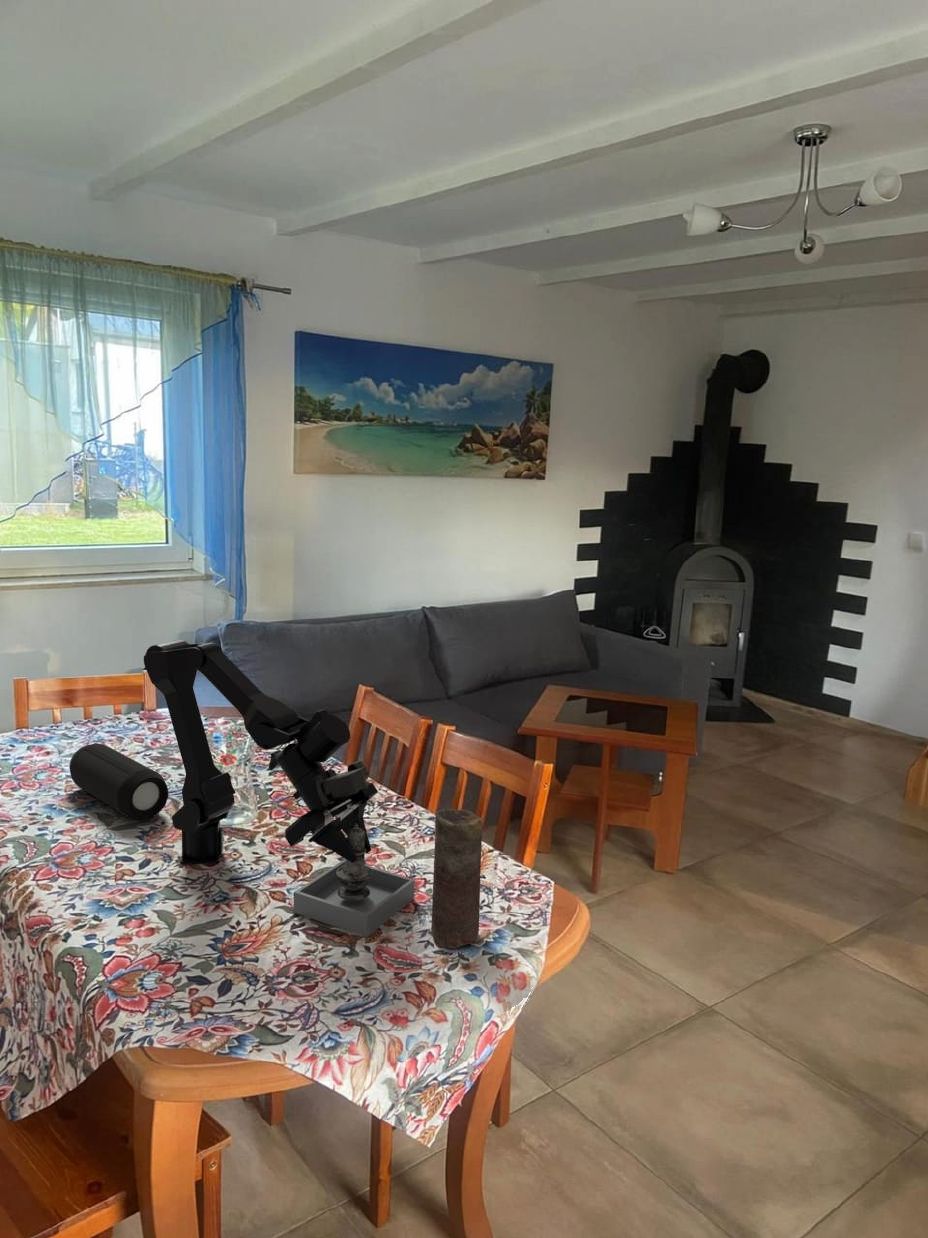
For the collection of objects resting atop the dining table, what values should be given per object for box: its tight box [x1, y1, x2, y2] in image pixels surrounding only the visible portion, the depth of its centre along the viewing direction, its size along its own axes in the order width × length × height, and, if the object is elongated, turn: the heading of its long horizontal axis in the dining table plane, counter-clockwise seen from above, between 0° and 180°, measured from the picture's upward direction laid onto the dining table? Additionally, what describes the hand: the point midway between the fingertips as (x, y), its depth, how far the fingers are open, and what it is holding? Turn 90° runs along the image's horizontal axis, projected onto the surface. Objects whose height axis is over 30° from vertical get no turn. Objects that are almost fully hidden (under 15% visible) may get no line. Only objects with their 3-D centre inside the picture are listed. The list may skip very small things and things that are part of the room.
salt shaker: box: [336, 823, 373, 901], centre depth 145 cm, size 6×6×12 cm
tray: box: [293, 858, 416, 938], centre depth 146 cm, size 14×14×4 cm
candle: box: [430, 808, 483, 949], centre depth 136 cm, size 8×7×20 cm
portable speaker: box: [68, 743, 169, 820], centre depth 182 cm, size 26×10×10 cm, turn 48°
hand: (362, 856), depth 144 cm, fingers closed on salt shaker, 4 cm apart
